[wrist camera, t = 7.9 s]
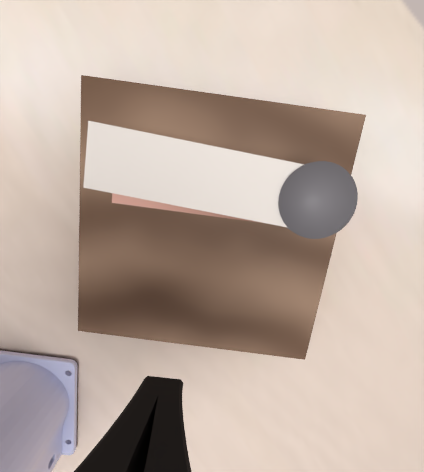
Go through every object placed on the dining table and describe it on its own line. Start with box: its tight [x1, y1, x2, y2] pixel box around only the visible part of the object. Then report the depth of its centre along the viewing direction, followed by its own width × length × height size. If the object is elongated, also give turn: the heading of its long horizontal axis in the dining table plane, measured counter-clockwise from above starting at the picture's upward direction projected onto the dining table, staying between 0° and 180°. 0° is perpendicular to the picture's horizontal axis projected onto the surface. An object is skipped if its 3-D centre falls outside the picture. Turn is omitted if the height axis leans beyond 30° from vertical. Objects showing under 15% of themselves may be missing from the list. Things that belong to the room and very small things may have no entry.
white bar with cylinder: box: [83, 121, 357, 239], centre depth 13 cm, size 13×4×3 cm, turn 79°
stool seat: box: [78, 75, 366, 359], centre depth 16 cm, size 16×16×2 cm
